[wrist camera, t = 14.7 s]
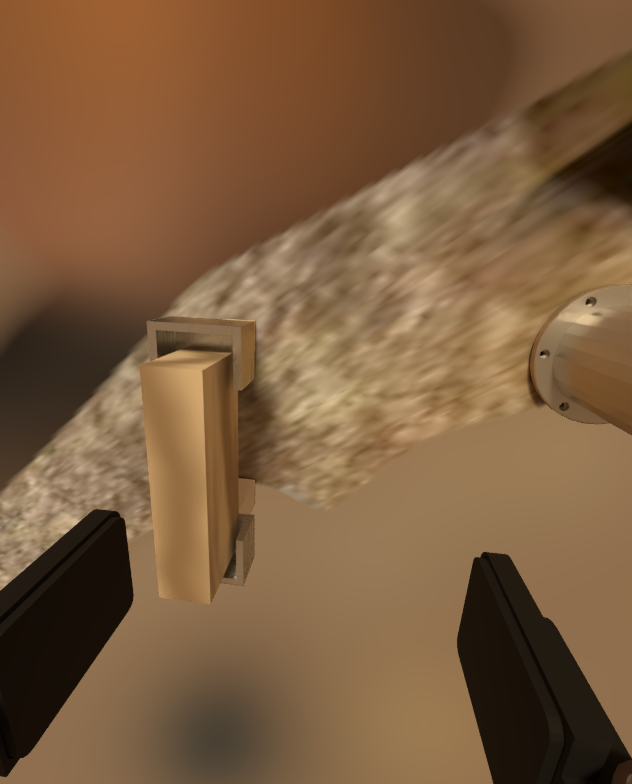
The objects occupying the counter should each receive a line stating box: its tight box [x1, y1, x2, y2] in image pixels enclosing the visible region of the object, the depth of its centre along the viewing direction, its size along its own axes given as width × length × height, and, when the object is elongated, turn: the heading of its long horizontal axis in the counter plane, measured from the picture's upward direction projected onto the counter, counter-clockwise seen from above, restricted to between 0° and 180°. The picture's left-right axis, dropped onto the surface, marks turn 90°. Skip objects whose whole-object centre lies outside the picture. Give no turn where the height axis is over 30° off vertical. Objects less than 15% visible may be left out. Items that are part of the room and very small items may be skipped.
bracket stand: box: [147, 316, 255, 586], centre depth 35 cm, size 7×22×11 cm, turn 177°
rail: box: [140, 346, 239, 604], centre depth 29 cm, size 4×18×7 cm, turn 177°
